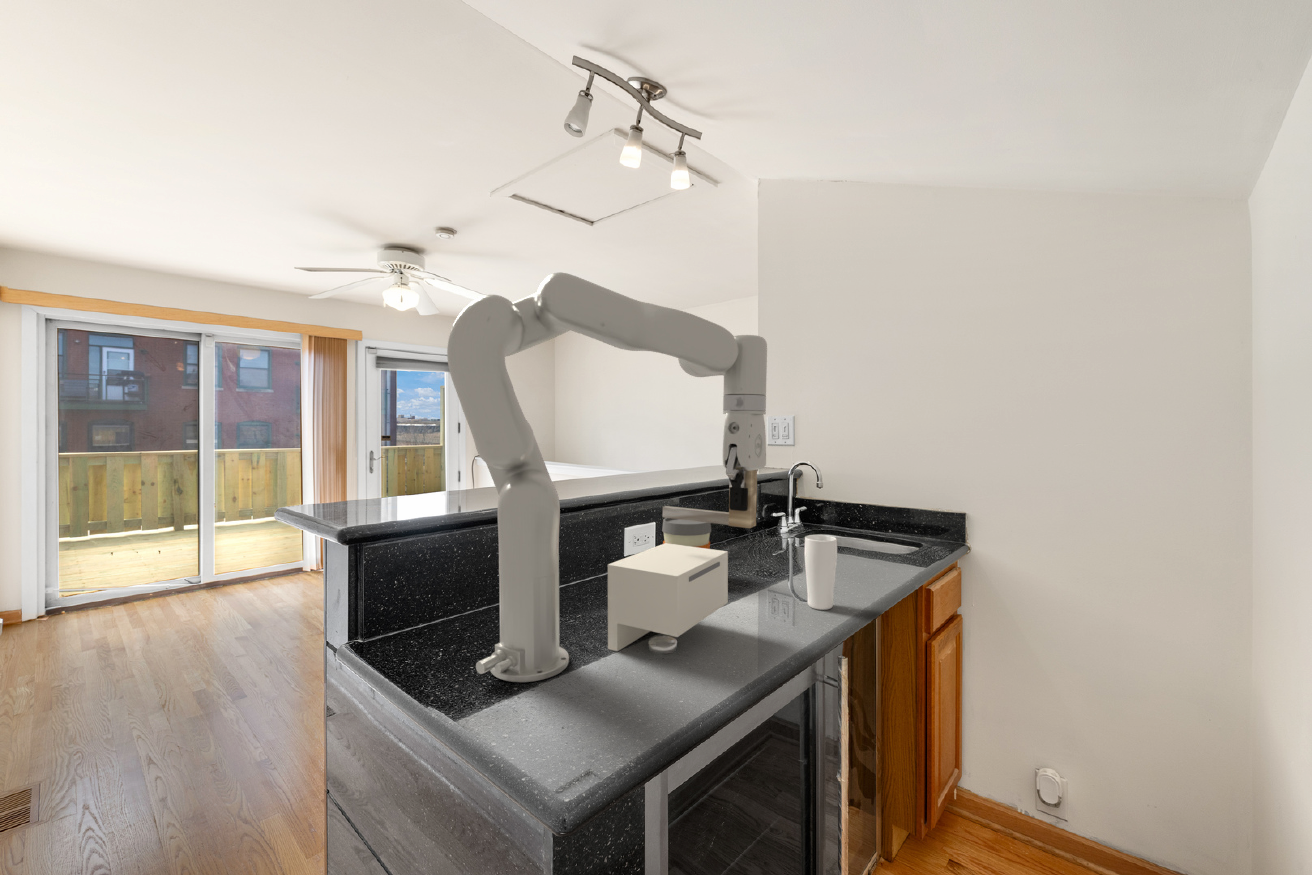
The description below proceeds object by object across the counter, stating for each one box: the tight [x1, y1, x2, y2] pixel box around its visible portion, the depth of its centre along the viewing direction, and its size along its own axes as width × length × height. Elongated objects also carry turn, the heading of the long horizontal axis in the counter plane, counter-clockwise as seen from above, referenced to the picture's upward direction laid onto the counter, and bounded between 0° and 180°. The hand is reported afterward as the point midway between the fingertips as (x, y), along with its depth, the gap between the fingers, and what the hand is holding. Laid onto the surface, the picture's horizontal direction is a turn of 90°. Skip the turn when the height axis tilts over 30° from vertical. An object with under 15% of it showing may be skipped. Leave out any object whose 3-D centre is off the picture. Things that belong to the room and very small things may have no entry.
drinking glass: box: [804, 534, 838, 611], centre depth 119 cm, size 7×7×15 cm
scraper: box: [662, 467, 758, 529], centre depth 102 cm, size 3×18×11 cm, turn 60°
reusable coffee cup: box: [661, 518, 712, 549], centre depth 141 cm, size 12×13×15 cm
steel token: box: [648, 635, 678, 655], centre depth 98 cm, size 5×5×2 cm
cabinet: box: [607, 543, 729, 652], centre depth 102 cm, size 20×14×15 cm
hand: (742, 507), depth 99 cm, fingers closed on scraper, 3 cm apart
